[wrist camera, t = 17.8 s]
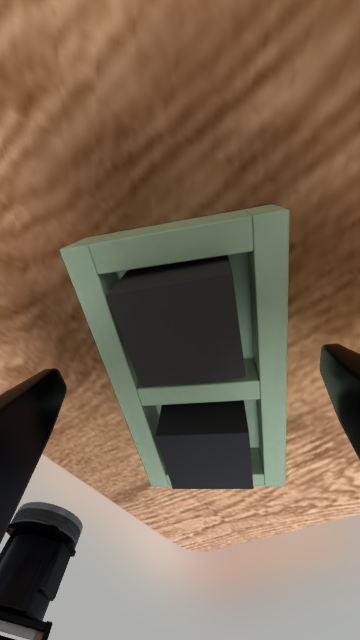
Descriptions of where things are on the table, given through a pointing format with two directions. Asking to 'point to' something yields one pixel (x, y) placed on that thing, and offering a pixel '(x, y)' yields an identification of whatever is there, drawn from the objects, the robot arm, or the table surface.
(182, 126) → the table surface
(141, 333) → the black block
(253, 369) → the green divided tray
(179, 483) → the pad
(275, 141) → the table surface
